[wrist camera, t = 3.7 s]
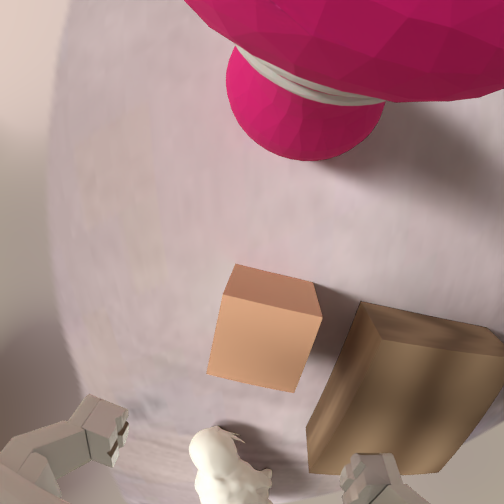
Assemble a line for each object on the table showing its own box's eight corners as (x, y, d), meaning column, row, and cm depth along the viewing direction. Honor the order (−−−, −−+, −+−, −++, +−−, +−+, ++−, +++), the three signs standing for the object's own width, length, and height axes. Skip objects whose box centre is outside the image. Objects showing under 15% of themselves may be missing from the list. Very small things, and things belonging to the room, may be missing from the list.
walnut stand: (486, 327, 20) (518, 358, 15) (422, 435, 23) (438, 472, 19) (360, 301, 20) (382, 339, 15) (305, 427, 23) (308, 473, 19)
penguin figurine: (209, 553, 18) (146, 481, 17) (224, 492, 27) (179, 413, 25) (278, 553, 18) (232, 481, 16) (282, 487, 26) (248, 404, 24)
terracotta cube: (312, 281, 20) (322, 317, 15) (291, 347, 22) (294, 392, 17) (235, 263, 20) (222, 294, 15) (220, 330, 22) (206, 373, 17)
